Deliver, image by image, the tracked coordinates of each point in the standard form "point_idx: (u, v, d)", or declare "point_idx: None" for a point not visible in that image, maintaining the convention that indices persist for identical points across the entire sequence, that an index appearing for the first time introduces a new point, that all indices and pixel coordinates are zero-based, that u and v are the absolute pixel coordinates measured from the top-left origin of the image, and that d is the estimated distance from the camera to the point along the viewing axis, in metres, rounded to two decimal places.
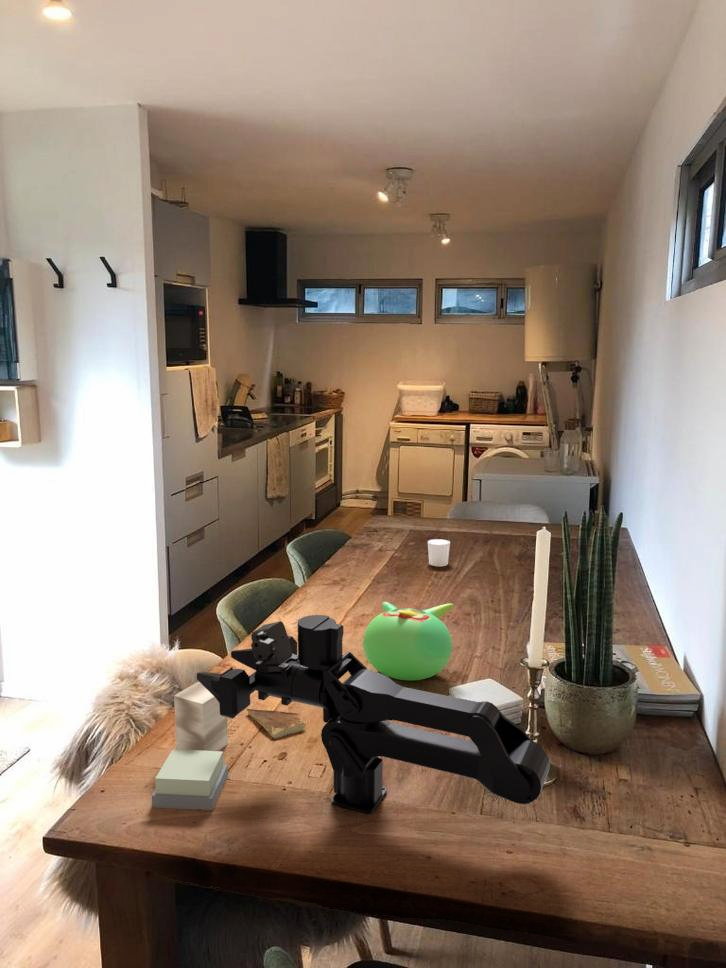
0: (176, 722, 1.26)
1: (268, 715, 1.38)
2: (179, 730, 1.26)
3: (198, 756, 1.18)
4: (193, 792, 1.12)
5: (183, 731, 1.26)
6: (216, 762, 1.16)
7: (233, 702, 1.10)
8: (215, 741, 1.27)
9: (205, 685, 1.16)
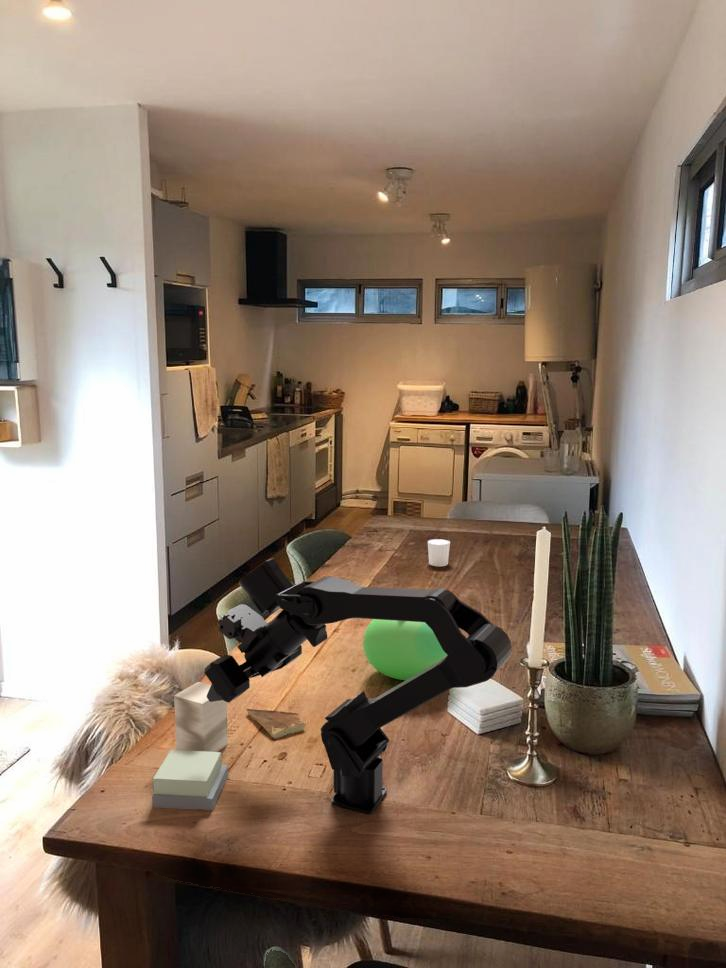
0: (176, 722, 1.26)
1: (268, 715, 1.37)
2: (179, 730, 1.26)
3: (196, 757, 1.18)
4: (191, 792, 1.12)
5: (183, 731, 1.26)
6: (214, 763, 1.16)
7: (224, 680, 1.11)
8: (215, 741, 1.27)
9: (215, 698, 1.18)
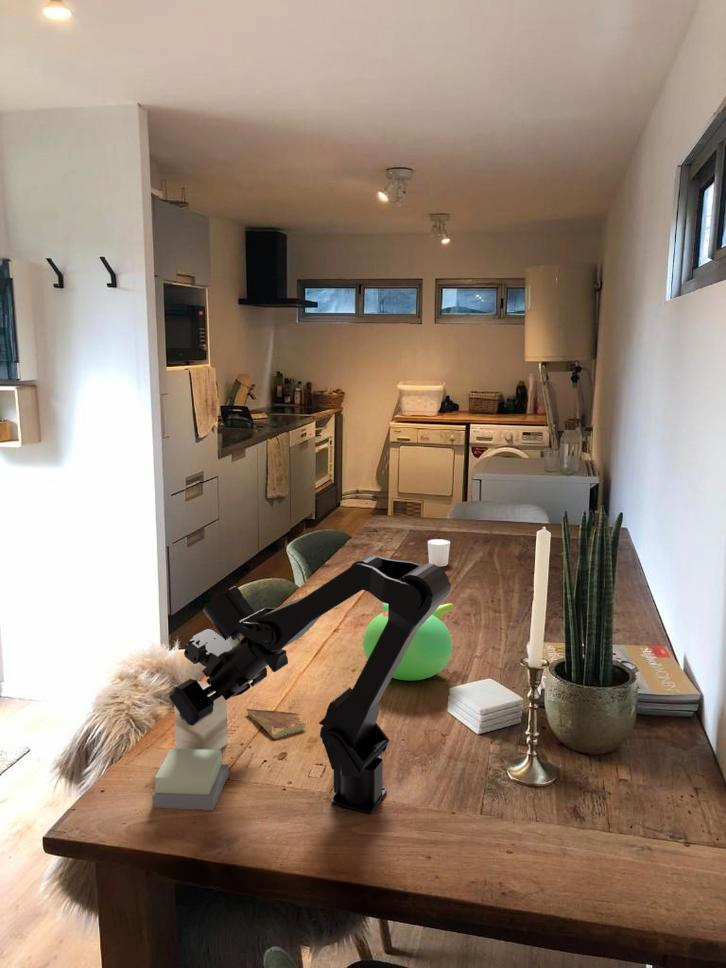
0: (176, 722, 1.26)
1: (268, 715, 1.37)
2: (179, 730, 1.26)
3: (196, 755, 1.18)
4: (193, 791, 1.12)
5: (183, 731, 1.26)
6: (215, 760, 1.17)
7: (188, 704, 1.16)
8: (215, 741, 1.27)
9: None
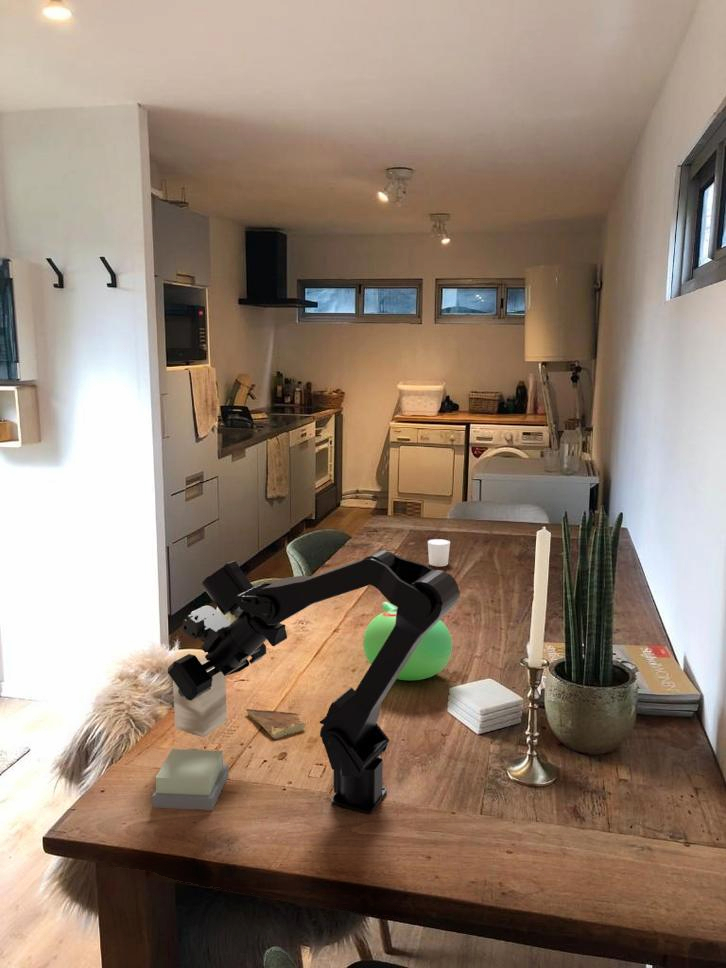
0: (174, 699, 1.26)
1: (268, 715, 1.37)
2: (178, 707, 1.26)
3: (197, 756, 1.18)
4: (193, 791, 1.12)
5: (181, 708, 1.25)
6: (216, 761, 1.16)
7: (186, 678, 1.15)
8: (214, 718, 1.26)
9: None
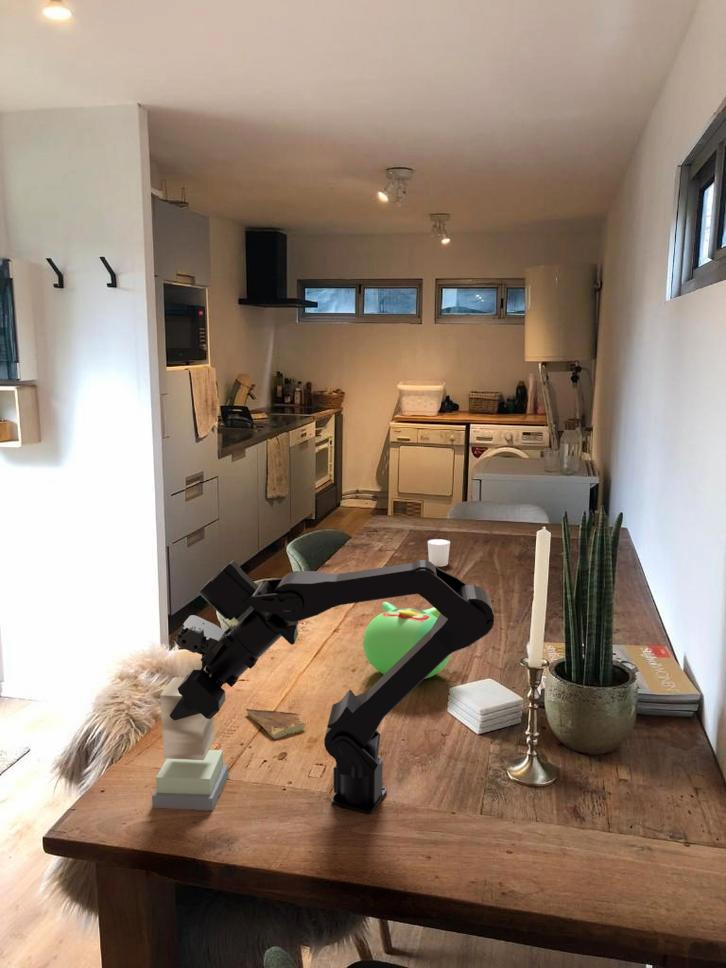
0: (163, 725, 1.12)
1: (268, 715, 1.37)
2: (167, 733, 1.12)
3: None
4: (194, 791, 1.12)
5: (173, 733, 1.12)
6: (216, 761, 1.17)
7: (205, 695, 1.04)
8: (208, 737, 1.15)
9: (183, 715, 1.10)
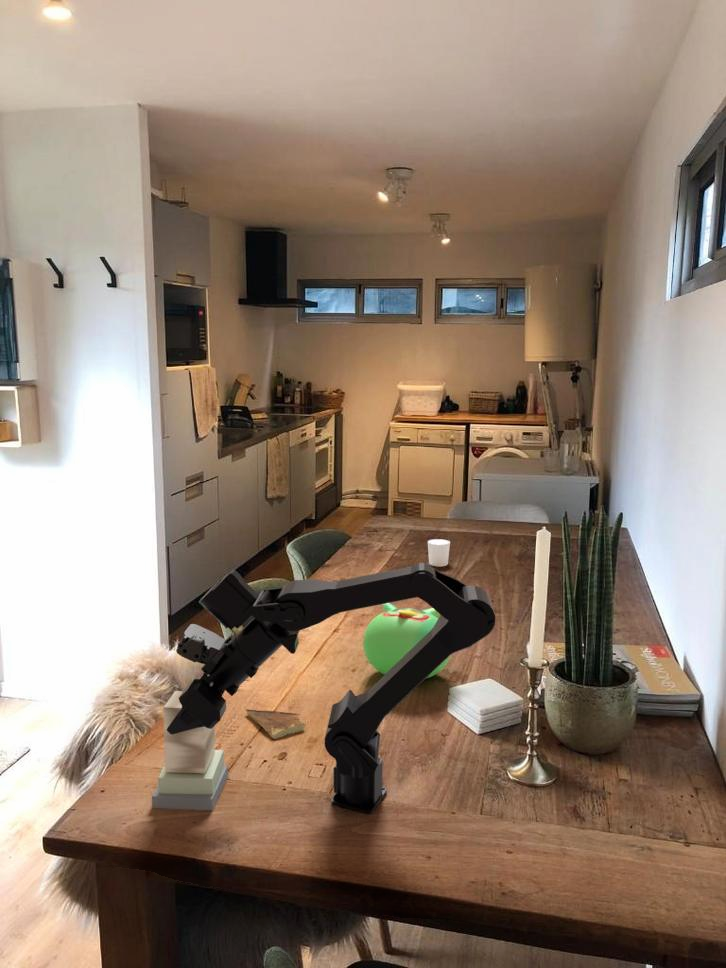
0: (165, 737, 1.12)
1: (268, 715, 1.37)
2: (169, 746, 1.12)
3: None
4: (196, 791, 1.12)
5: (175, 746, 1.12)
6: (218, 760, 1.17)
7: (207, 705, 1.04)
8: (209, 751, 1.15)
9: (181, 729, 1.09)
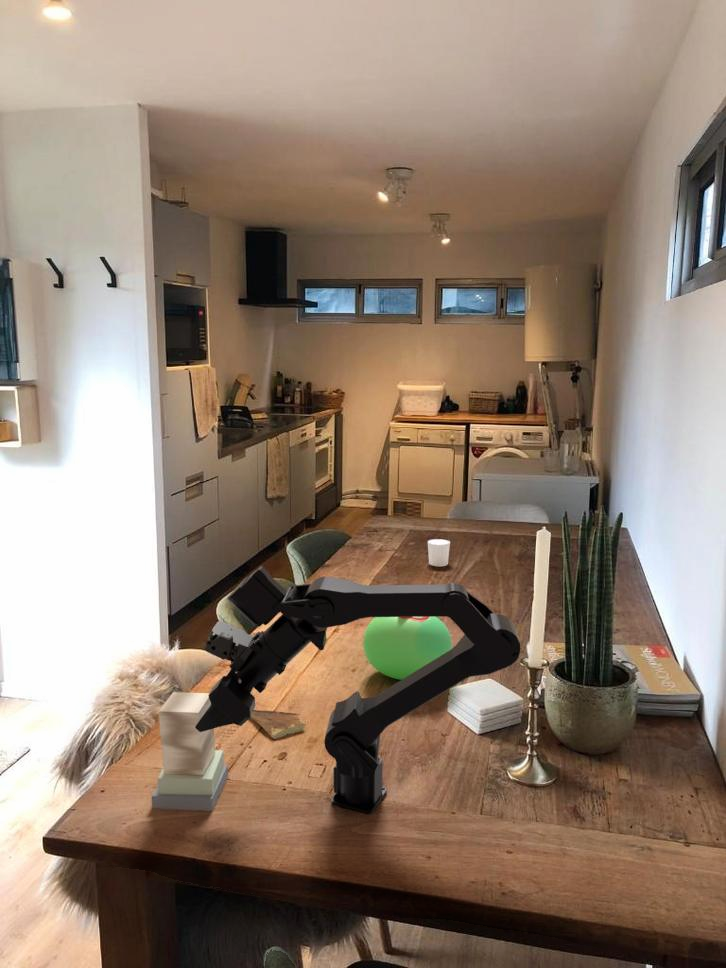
0: (162, 740, 1.12)
1: (268, 715, 1.37)
2: (167, 749, 1.12)
3: None
4: (196, 791, 1.12)
5: (172, 748, 1.12)
6: (217, 761, 1.16)
7: (237, 702, 1.03)
8: (208, 752, 1.15)
9: (209, 727, 1.08)
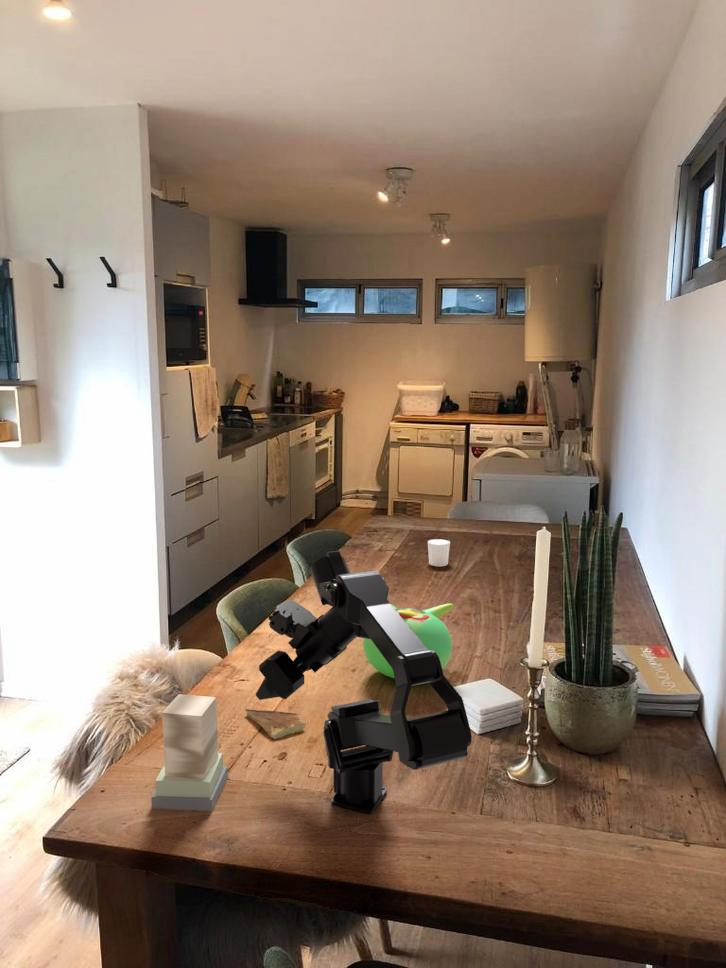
0: (165, 742, 1.12)
1: (268, 715, 1.37)
2: (169, 751, 1.12)
3: None
4: (194, 794, 1.12)
5: (174, 751, 1.12)
6: (216, 763, 1.16)
7: (281, 676, 1.09)
8: (210, 756, 1.14)
9: (266, 696, 1.16)
